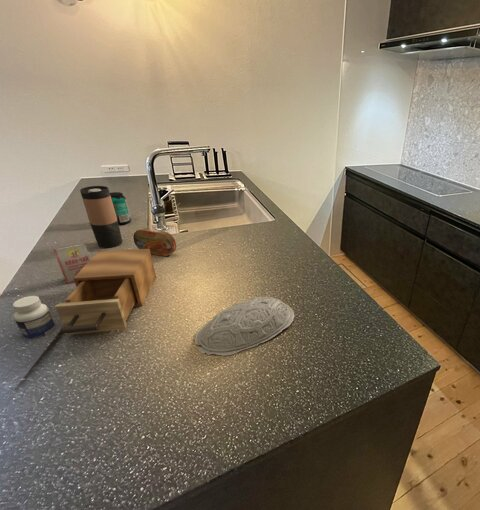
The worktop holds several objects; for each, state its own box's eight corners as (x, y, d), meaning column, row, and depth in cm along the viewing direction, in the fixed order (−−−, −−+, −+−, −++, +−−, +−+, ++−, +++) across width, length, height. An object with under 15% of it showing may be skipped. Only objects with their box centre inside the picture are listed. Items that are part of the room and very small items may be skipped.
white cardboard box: (65, 278, 88) (52, 247, 84) (93, 271, 93) (83, 241, 88) (66, 283, 86) (54, 252, 81) (96, 276, 90) (86, 246, 86)
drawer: (117, 344, 66) (107, 316, 63) (54, 352, 63) (40, 322, 60) (142, 295, 82) (136, 270, 79) (93, 299, 79) (83, 274, 76)
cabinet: (142, 305, 80) (133, 274, 76) (85, 310, 77) (73, 278, 72) (156, 277, 92) (149, 248, 88) (107, 280, 89) (98, 250, 85)
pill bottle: (25, 335, 68) (7, 299, 64) (57, 325, 71) (41, 291, 67) (27, 349, 65) (8, 312, 60) (60, 337, 68) (44, 302, 64)
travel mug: (121, 237, 114) (107, 184, 105) (125, 245, 109) (110, 190, 100) (96, 242, 109) (78, 187, 100) (98, 250, 104) (80, 193, 95)
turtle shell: (307, 320, 79) (304, 298, 76) (210, 371, 64) (203, 346, 61) (276, 297, 89) (273, 277, 87) (187, 336, 75) (180, 313, 72)
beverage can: (118, 218, 129) (111, 191, 124) (135, 220, 129) (128, 192, 124) (106, 224, 123) (98, 195, 117) (124, 226, 123) (116, 197, 117)
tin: (135, 250, 106) (129, 228, 102) (142, 247, 108) (137, 225, 105) (173, 258, 103) (168, 235, 99) (179, 254, 106) (175, 232, 102)
